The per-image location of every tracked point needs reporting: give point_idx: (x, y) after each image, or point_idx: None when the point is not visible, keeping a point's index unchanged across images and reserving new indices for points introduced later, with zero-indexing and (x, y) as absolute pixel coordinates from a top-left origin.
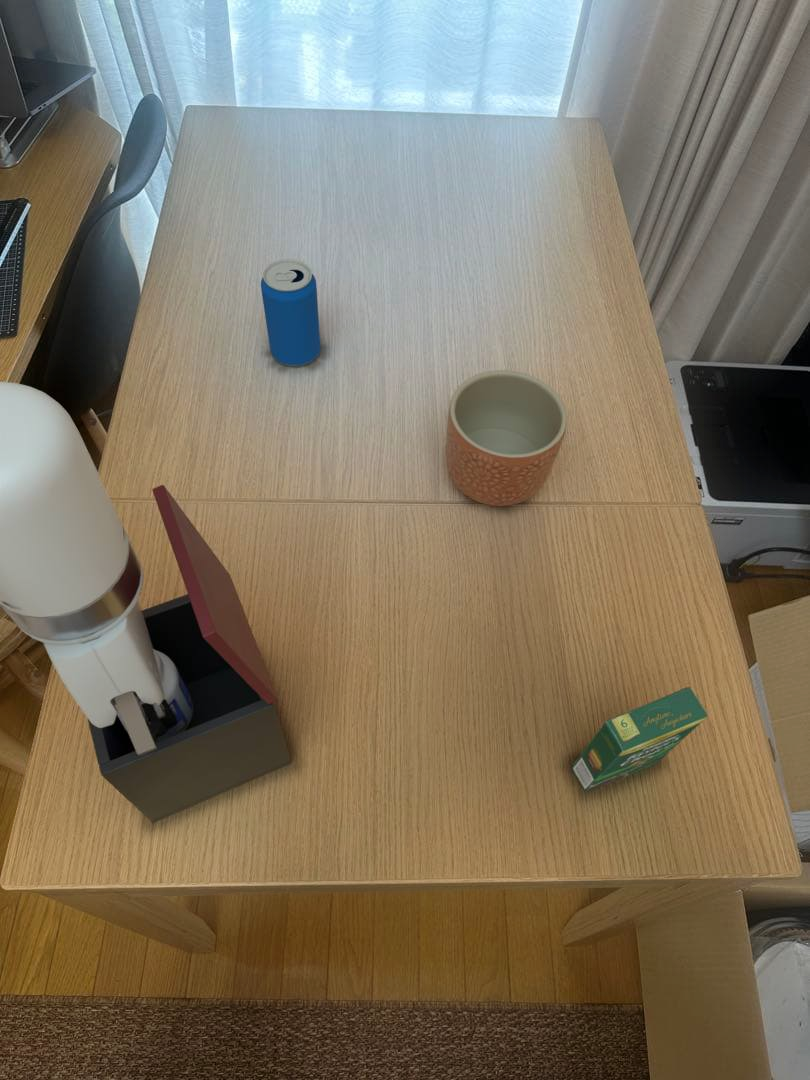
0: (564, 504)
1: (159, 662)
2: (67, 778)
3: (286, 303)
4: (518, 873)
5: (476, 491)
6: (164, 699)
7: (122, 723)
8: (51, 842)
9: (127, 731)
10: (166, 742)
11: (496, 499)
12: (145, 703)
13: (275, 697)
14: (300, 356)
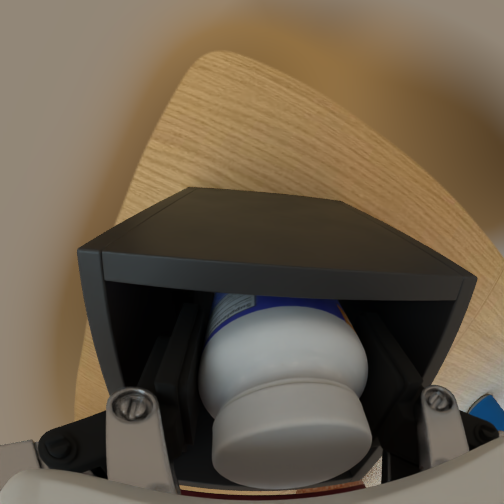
0: (284, 491)
1: (267, 488)
2: (288, 116)
3: None
4: (76, 396)
5: (317, 489)
6: (185, 451)
7: (106, 431)
8: (224, 82)
9: (54, 454)
10: (116, 387)
11: (304, 491)
12: (178, 447)
13: None
14: (474, 415)
